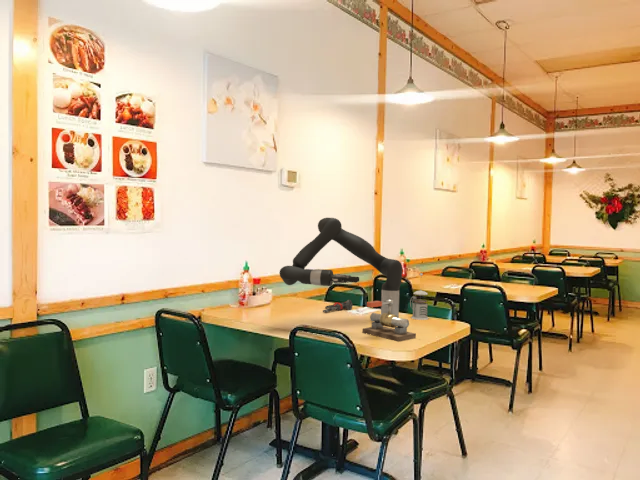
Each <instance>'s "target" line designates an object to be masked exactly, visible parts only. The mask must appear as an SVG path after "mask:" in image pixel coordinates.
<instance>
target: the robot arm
mask: <svg viewBox="0 0 640 480" xmlns="http://www.w3.org/2000/svg"><path fill="white" fill-rule="evenodd" d="M317 229H318V231H319V234H318V235H317V236H316V237H315V238H314V239H313V240H311V241H310V242H309V243H307V244H306V245H304V246H303V247H302V249H300V251H299V252H298V253H297V254H296V255H295V256H294V257H293V259H292V265H285V266H282V267H281V268H280V270H279V277H280V278H281V280H282V281H283V283H284V284H286V285H287V286H293V285H294V284H296V283H297V282H299V283H301V284H303V285H313V286H321V287H331V286H333V285H334V284H347V283H348V284H349V283H358V282H360V277H359V276H352V275H350V274H343V273H342V274H341V273H335V274H334V271H333V270H332V269H323V268H322V269H321V268H320V269H319V268H316V269H315V268H314V269H311V268H306V267H307V266H308V265H309V263H311V261H312V260H314V258H315V257H316V256H317V255H318V253H319V252H320V251H321V250H322V249H323V248H325V247H326V246H327V245H328V243H330V242H331V241H334V242H335V243H337V244H339V245H340V246H341V247H343V248H344V249H346V250H347V251H348V252H349V253H351V254H352V255H353V256H355V257H357V258H358V259H360V260H361V261H363V262H366V263H367V264H369V265H371V266H372V267H373V268H375V270H377V271H378V272H379V273H380V274H381V275H383V276H385V277H386V279H385V282H383V283H382V284H381V297H380V298H381V300H380V301H386V300H387V299H391V300H393V305H391V314H393V315H397V317H398V318H400V317H399V316H400V315H399V314H400V312H399V311H400V288H401V285H402V278H403V265H402V263H401V262H400V260H398V259H394V258H393V259H392V258H387V257H385V256H384V255H381V254H380V253H379V252H377V251H376V249H375V248H374V246H373V245H372V244H371V243H369V242H368V241H367V240H366V239H364V238H362V237H360V236H358V235H357V234H354V233H351V232H349V231H347V230H345V229H343V228H342V223H341V220H339V219H338V218H335V217H324V218H322V219H320V220H319V221H318V223H317ZM333 283H334V284H333ZM383 313H388V305H387V304H383V305H382V306H380V314H383Z"/></svg>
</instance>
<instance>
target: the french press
mask: <svg viewBox="0 0 640 480" xmlns="http://www.w3.org/2000/svg"><path fill="white" fill-rule="evenodd" d="M423 275H424V273H421V272H420V273H419V276H420V277H422V276H423ZM414 295H415V296H414ZM416 295H417V296H420V297H419V298H420V299H416ZM427 295H429V294H428V292H426V291H424V290H422V289H420V290H416V291H414V292H413V296H412V297H411V298H410V301H409V305H410V307H411V309H412V316H410V318H411V319H413V320H419V321H426V320H429V317H428V303H427V302H428V301H427V300H426V299H421V296H427ZM412 298H413V299H412ZM411 301H412V302H411Z"/></svg>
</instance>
